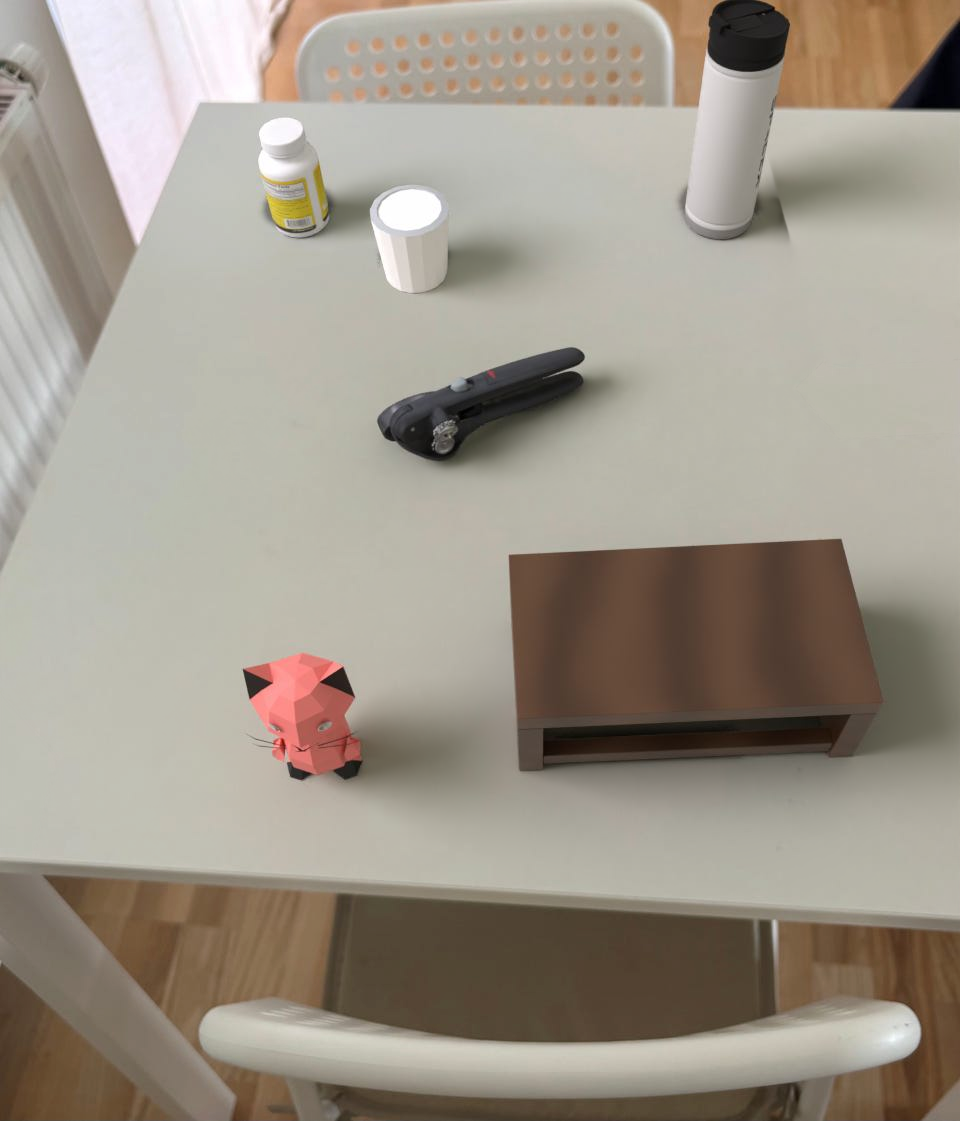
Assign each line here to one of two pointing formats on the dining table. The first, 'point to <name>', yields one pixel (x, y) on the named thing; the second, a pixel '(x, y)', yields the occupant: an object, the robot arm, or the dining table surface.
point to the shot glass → (412, 236)
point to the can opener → (478, 402)
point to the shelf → (689, 649)
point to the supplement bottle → (292, 178)
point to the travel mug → (734, 115)
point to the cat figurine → (306, 714)
